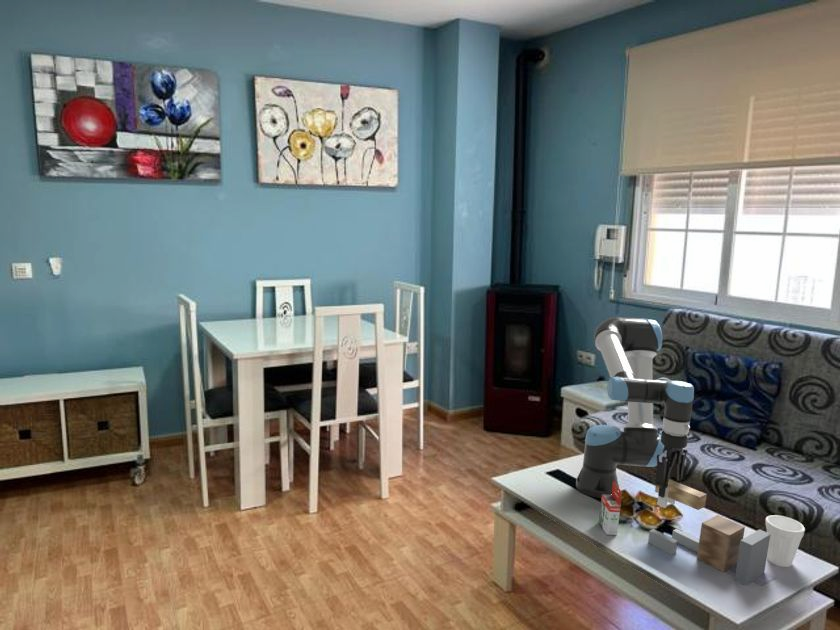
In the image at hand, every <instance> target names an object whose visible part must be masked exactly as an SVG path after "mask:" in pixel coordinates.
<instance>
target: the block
mask: <svg viewBox="0 0 840 630" xmlns="http://www.w3.org/2000/svg"><path fill="white" fill-rule="evenodd" d="M745 529H746V526H744V525H741V524H739V523H737V522H735V521H732V520H731V519H727V518H725V517H723V516H721V515H718V514H717V515H715V516H713V517H710V518H709V519H706V520H704V521H702V522H701V527H700V534H699V538H698V539H699V546H698V552H696V553H697V555H696V559H697V560H698V561H701V562H703V563H704V564H707V565H709V566H710V567H713V568H715V569H716V570H719V571H720V572H723V573H725V572H726V571H729V570H731V568H733V567H734V566H737V561H738V555H739V548H740V542H741V540H742V539H744V535H745Z"/></svg>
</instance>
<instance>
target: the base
mask: <svg viewBox="0 0 840 630" xmlns="http://www.w3.org/2000/svg"><path fill="white" fill-rule="evenodd" d="M671 535H672V536H671V538H673V539H675V540H677V541H678V543H677V544H679V545H682V546H683V547H686V548H688V549H690V550H691V551H694V552H696V553H698V546H699V539H700V538H697V537H694V536H693V535H690V534H689V533H686V532H684V531H683V530H682V531H681V530H680V529H678V528H675V529H673V530H672V534H671ZM770 535H771V534H769V533H767V531H764V530H762V529H757V530H756V531H754V532H752V533H751V534H749V535H747V536H746V537H743V539H742V540H741V542H740V548H739V555H738V561H737V564H736V568H735V575H734V581H735V582H738V583H740V584H742V585H744V586H747V585H748V584H750V583H752V582H753V581H754V580H756V579H757V578H758V577H760V576H762V575H764V574H765V571H766V563H767V553H768V547H769V541H770Z"/></svg>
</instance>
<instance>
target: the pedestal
mask: <svg viewBox="0 0 840 630" xmlns="http://www.w3.org/2000/svg"><path fill="white" fill-rule="evenodd" d="M648 533H649V534H648V540H647V541H648V542H647V543H649V544H650V545H652V546H654V547H656V548H658V549H660V550H662V551H664V552H666V553H668V554H670V555H671V556H674V555H675V554H676V553H677V551H678V549H677V548H678V544H679V543H678V541H677V540H675V539H673V538H672V536H668V535H666V534H664V533H663V532H660V531H659V530H656V529H654V528H652V529H651V530H650V529H649V532H648Z"/></svg>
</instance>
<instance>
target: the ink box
mask: <svg viewBox="0 0 840 630" xmlns="http://www.w3.org/2000/svg"><path fill="white" fill-rule="evenodd" d="M616 488H617V489H618V491H619V492H618V491H617V489H616ZM622 497H623V492H622V490H621V489H620V486H619V487H618V486H617V485H616V484H615V482H614V481H613V487H612V495H602V498H600V499H601V501H600V506H599V507H600V509H599V515H598V516H599V517H598V524H599V525H600V527H601V528H602V530H603V532H604V534H605V535H608V536H617V535H618V529H619V521H620V513H621V505H622Z"/></svg>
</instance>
